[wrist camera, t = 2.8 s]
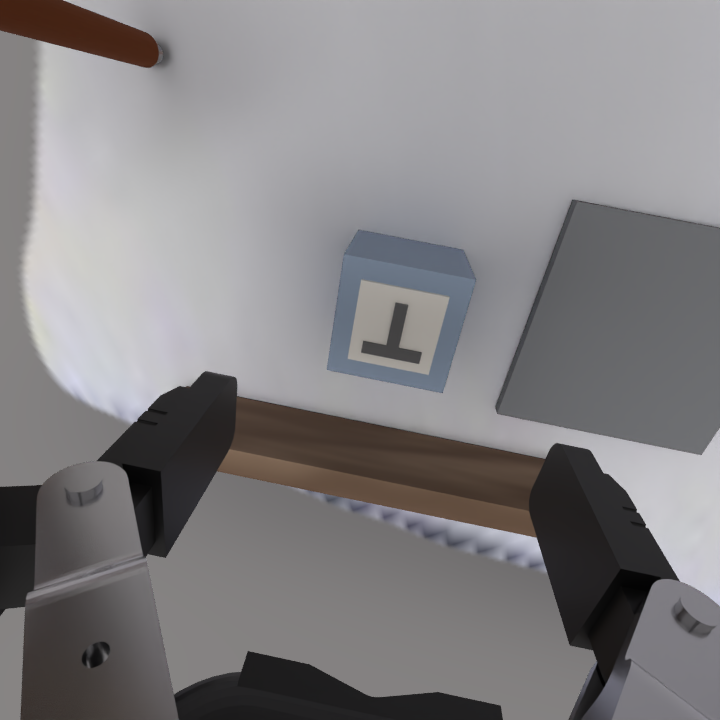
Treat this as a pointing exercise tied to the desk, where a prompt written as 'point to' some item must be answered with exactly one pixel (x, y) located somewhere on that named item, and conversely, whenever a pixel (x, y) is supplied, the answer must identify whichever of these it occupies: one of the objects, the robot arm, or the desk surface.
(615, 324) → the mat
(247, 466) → the bar
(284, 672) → the robot arm
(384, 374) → the letter cube
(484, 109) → the desk surface
